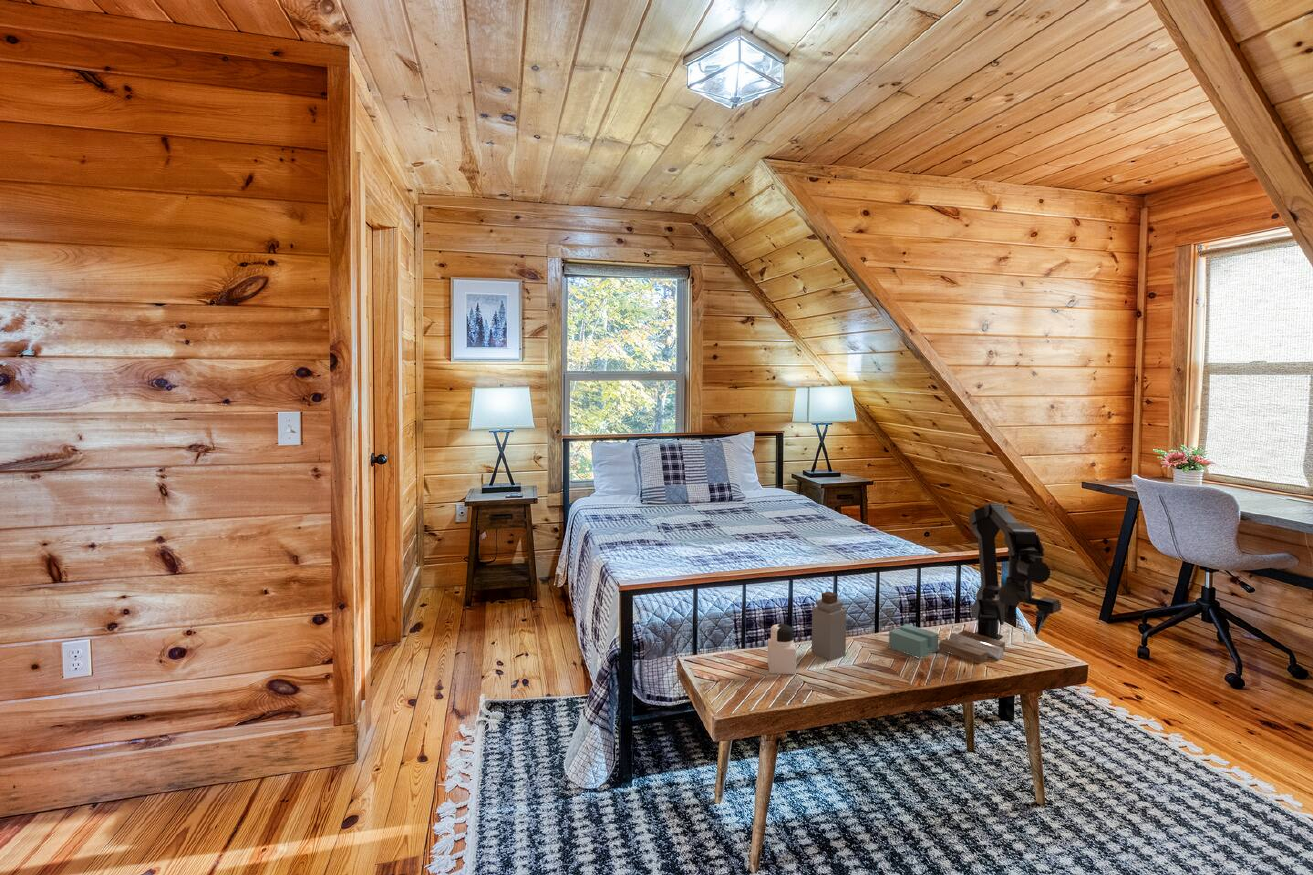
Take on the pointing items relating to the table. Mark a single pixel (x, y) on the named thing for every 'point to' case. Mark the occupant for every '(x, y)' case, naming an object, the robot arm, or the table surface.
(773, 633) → the medicine bottle
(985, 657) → the walnut beams
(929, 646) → the v-block
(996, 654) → the steel shaft
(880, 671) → the table surface
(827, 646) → the perfume bottle
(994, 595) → the robot arm
